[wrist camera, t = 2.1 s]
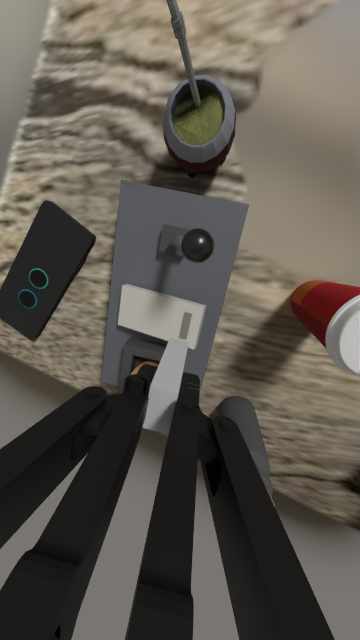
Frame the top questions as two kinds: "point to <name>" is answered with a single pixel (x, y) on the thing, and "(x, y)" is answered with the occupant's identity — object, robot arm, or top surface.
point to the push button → (143, 364)
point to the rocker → (160, 314)
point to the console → (168, 269)
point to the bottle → (248, 433)
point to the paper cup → (332, 319)
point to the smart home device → (43, 269)
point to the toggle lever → (194, 245)
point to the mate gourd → (197, 113)
